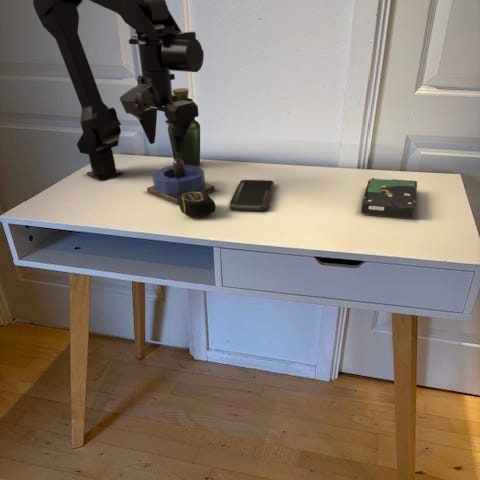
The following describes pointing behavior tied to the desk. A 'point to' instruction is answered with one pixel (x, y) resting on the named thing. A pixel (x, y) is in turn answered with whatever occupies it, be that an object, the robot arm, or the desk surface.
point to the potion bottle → (187, 136)
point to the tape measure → (196, 204)
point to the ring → (178, 180)
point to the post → (178, 173)
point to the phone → (252, 195)
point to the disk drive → (390, 198)
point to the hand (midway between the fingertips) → (164, 147)
